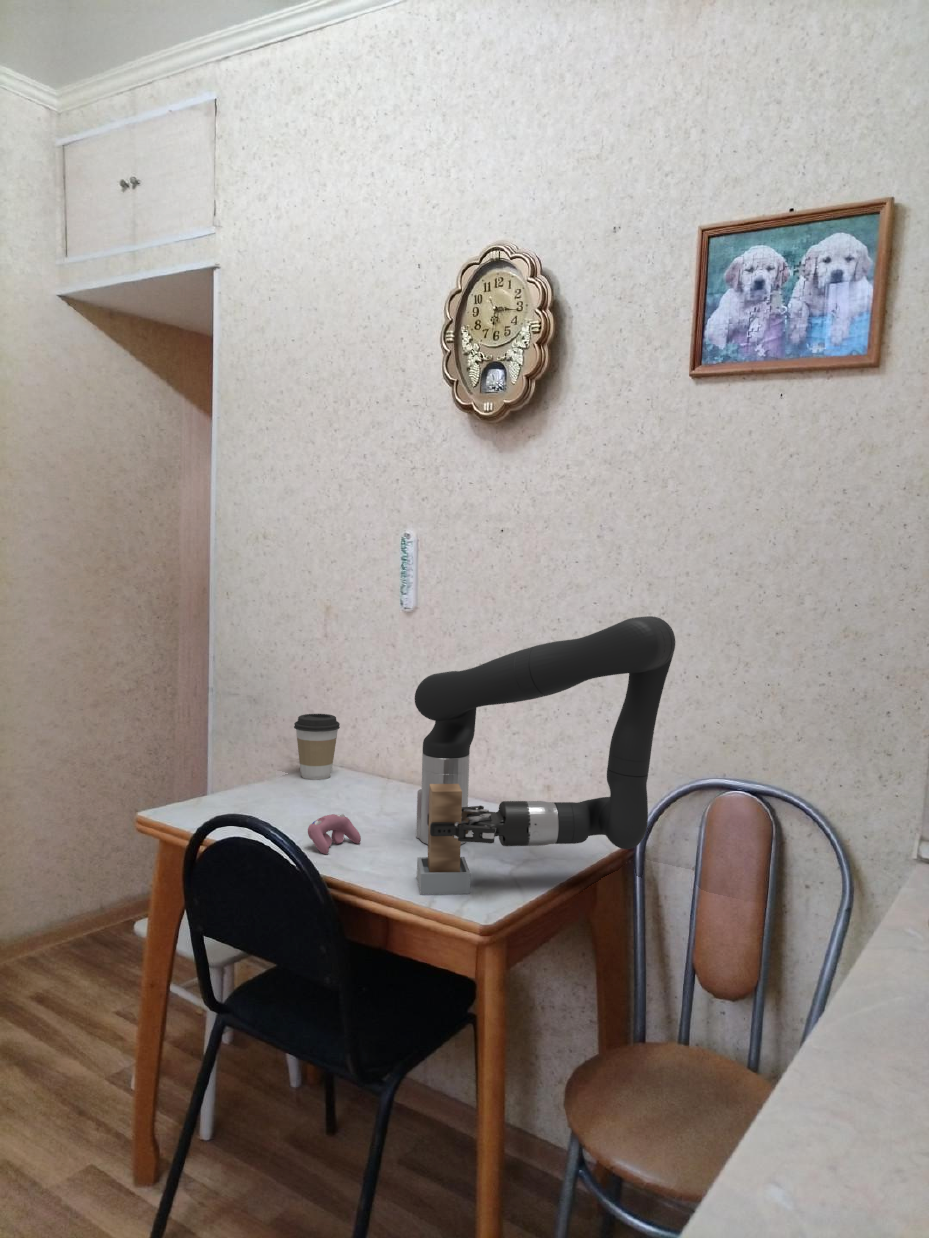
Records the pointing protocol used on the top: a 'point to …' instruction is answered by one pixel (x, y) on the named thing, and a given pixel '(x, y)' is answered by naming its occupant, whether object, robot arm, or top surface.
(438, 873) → the grey open box
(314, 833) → the video game controller
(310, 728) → the coffee cup
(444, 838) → the walnut pillar
